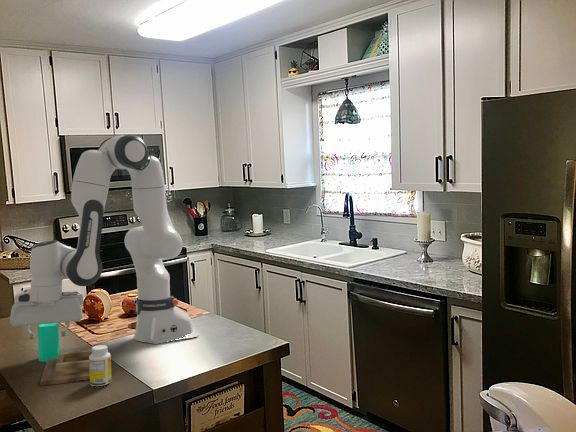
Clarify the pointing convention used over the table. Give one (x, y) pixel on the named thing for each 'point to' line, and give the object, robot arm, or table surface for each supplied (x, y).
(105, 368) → the supplement bottle
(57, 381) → the candle holder
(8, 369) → the table surface
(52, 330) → the candle
